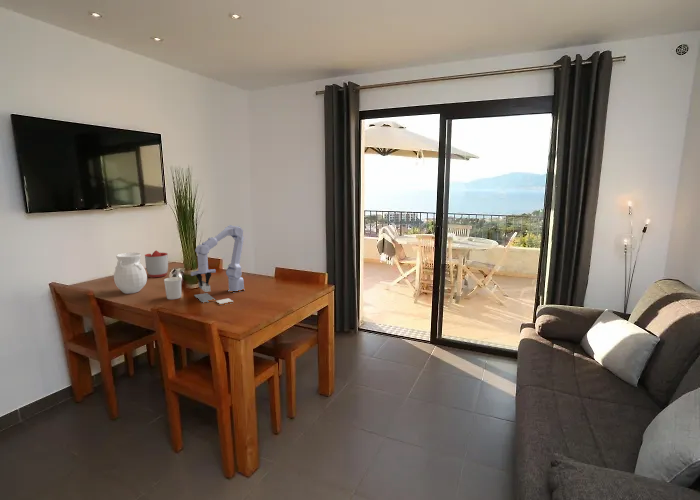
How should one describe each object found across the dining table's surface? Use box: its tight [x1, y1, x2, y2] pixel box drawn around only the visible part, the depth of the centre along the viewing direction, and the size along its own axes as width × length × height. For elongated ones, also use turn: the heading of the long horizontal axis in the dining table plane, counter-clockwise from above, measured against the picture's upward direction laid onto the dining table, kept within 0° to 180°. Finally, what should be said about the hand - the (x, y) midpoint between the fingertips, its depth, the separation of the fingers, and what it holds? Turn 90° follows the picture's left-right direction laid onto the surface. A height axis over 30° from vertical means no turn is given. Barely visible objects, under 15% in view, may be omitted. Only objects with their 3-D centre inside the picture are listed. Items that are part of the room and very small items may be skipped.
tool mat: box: [193, 292, 216, 304], centre depth 228 cm, size 8×18×1 cm, turn 39°
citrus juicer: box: [144, 250, 169, 279], centre depth 278 cm, size 16×17×20 cm
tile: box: [215, 297, 234, 305], centre depth 221 cm, size 8×2×7 cm
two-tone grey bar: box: [197, 280, 211, 293], centre depth 227 cm, size 3×14×4 cm, turn 38°
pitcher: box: [113, 252, 148, 295], centre depth 237 cm, size 19×18×25 cm
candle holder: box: [163, 276, 182, 300], centre depth 228 cm, size 10×10×12 cm
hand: (204, 285), depth 227 cm, fingers closed on two-tone grey bar, 3 cm apart
